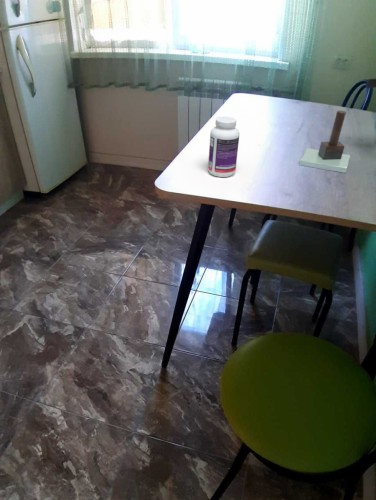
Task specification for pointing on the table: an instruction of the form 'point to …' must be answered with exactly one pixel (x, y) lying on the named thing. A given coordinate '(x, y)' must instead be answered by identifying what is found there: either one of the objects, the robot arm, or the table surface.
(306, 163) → the tile
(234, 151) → the pill bottle
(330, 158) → the brush
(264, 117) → the table surface
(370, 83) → the robot arm
